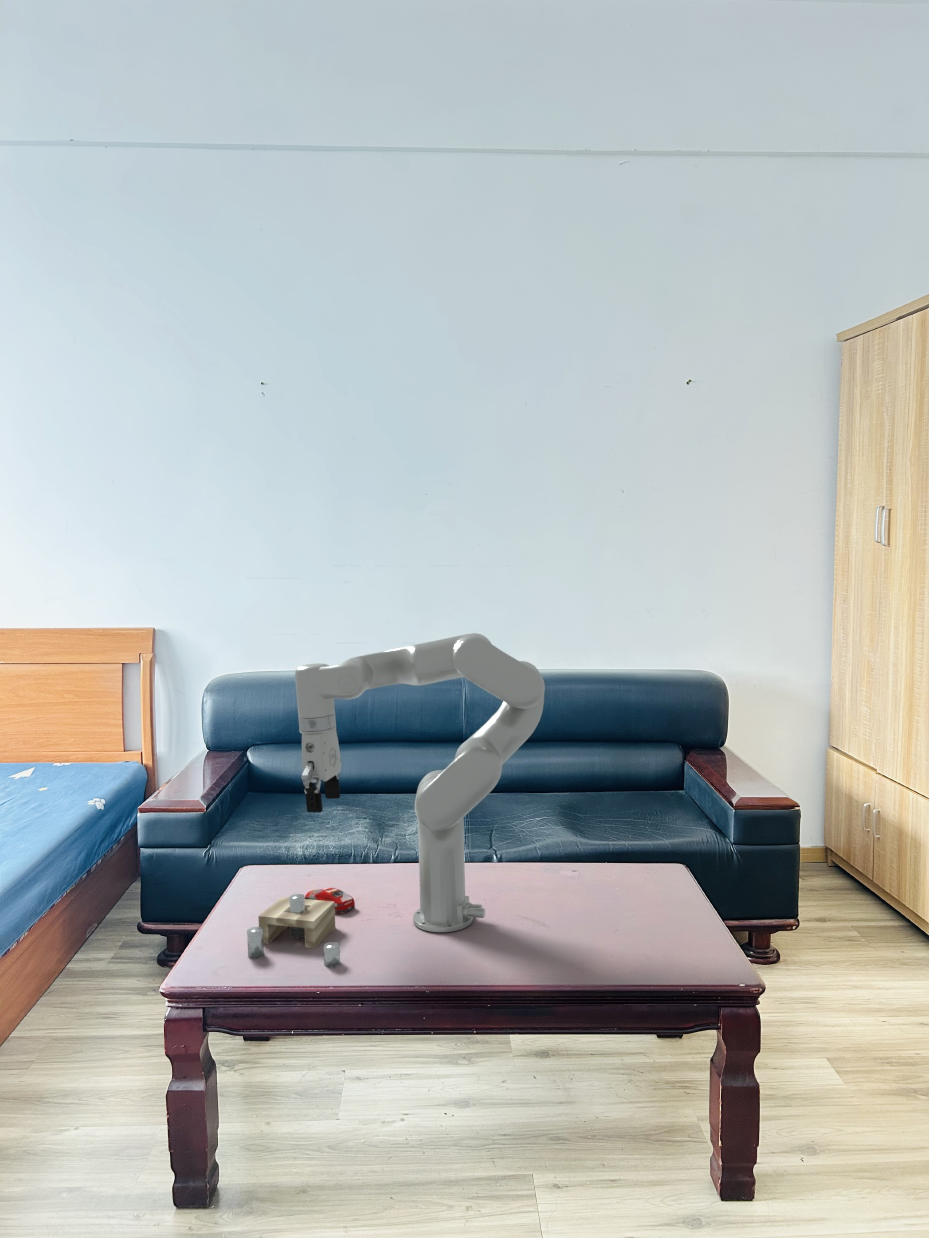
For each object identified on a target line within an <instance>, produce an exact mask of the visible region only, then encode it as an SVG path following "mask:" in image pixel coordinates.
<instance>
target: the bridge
mask: <svg viewBox="0 0 929 1238" xmlns="http://www.w3.org/2000/svg"><path fill="white" fill-rule="evenodd" d="M304 900H305V911H304V912H303V913H302V914H299V913H290V901H289V897H285V896H281V897H280V898H279V899H278V900H277V901H276V900H275V902H274V903H273V904H271V905H270V906H269V907H268V908H267V909H265V910H264V911H263V912H261V913H260V914H259V915H258V927H262V928H263V941H264V944H265V945H266V944H270V943H271V942H273V940H275V939H276V938H277V937H278V936H279V935H280V934H281V933H282V932H283V931H285V930H286V929H287V928H288V927H290V928H291V927H301V928H304V930H305V936H304V948H307V949H315V948H317V947H318V945H320V944H321V943H322V942H323V941H324V939H325V938H327V937H328V935H330V934H331V933H332V931H334V930H335V928H336V914H335V904H334V902H333V901H321V900H310V899H304Z"/></svg>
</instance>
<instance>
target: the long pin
mask: <svg viewBox="0 0 929 1238" xmlns="http://www.w3.org/2000/svg"><path fill="white" fill-rule="evenodd" d="M288 898H289V901H290V913H299V914H302V913H303V912H304V911H305V900H304V898H305V895H304V894H301V893H294V894H291V895H290V896H289V897H288ZM290 937H291V938H292V939H301V938H303V937H304V938H305V930H304V928H301V927H290Z"/></svg>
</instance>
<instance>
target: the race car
mask: <svg viewBox="0 0 929 1238" xmlns="http://www.w3.org/2000/svg"><path fill="white" fill-rule="evenodd" d="M304 899H310V900H321V901H333V902H334V904H335V915H337V914H338V915H340V914H344V913H345V914H346V913H347V912H349V911H351V910H354V909H356V902H355V899H354V898H353V896H351V895H350V894H348V893H347V892H345V891H343V890H341V889H339V888H336V887H329V888H326V889H324V888H322V889H321V888H319V889H313V890H310V891H308V892H306V894H305V895H304Z"/></svg>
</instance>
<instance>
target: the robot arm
mask: <svg viewBox="0 0 929 1238" xmlns="http://www.w3.org/2000/svg"><path fill="white" fill-rule="evenodd" d="M459 678H460V679H461V678H465V679H466V680H467V681H469V682H471V683H472V684H474V685H475V686H478V687H479V688H480V689H482V690H484V691H486V692H487V693H489V694H490V695H492V696H494V697H495V698H497V699H499V700H500V701H502V703H501V704H500V706H499V708H498V710H497V711H496V712H495V713H494V714H492V715H491V717H490V718H489V719H488V720H487V721H486V722H485V723H484V724H483V725H482V726H481V727H480V728H479V729H477V730H476V731H475V732H474V733H473V734H472V735H470V737H469V738H468V739H467V740H465V741H464V742H463V743H461V744H460V745H459V747H458V748H457V751H456V752H455V754H454V755H455V756H454V759H453V760H452V761H451V762H450V763H449V764H448V765H447V766H446V767H445V768H444V769H438V770H433V771H430V772H428V773H427V774H425V776H424V777H422V779H421V780H420V781H419V784H418V786H417V790H416V795H415V799H414V813H415V816H416V818H417V823H418V824H417V832H418V834H417V835H418V842H417V843H418V866H419V867H418V868H419V869H418V871H419V872H418V873H419V903H420V907H419V909H417V910H416V911H415V912H414V914H413V916H412V919H413V920H412V921H413V924H414V926H416V927H417V928H419V929H420V930H423V931H426V932H431V933H450V932H456V931H460V930H463V929H466V928H467V927H469V926H470V925H471V924H472V923H473V921H474V918H478V919H484V918H485V917H486V909H485V908H484V907H483V904H479V903H478V904H477V903H476V904H475V903H474V904H472V902H470V896H469V895H466V880H465V879H466V877H465V875H466V873H465V826H464V823H465V821H464V817H466V816H467V815H468V814H469V813H470V812H471V811H472V810H473V809H475V807H476V806H478V805H479V803H480V802H481V801H483V800H484V799H485V798H486V797H487V796H488V795H489V794H490V793H491V792H492V791H493V790H494V788H495V787H496V786H497V785H498V783H499V781H500V778H501V775H502V772H503V771H502V770H503V765H504V764H505V762H507V760H509V759H510V757H512V756H513V755H514V754H515V753H516V752H517V751H518V749H519V748H521V746H522V745H523V744H524V743H525V742H526V741H527V740H528V739H529V738H530V737H531V736H532V734H533V733H534V731H536V728H537V726H538V724H539V722H540V721H541V718H542V715H543V710H544V703H545V690H546V687H545V686H546V685H545V681H544V677H543V676H542V674H541V672H540V671H539V669H538V668H537V667H536V665H534V664H532V663H531V662H529V661H526V660H517V658H514V657H513V656H511V655H510V654H508V653H506V652H504V651H503V650H501V649H499V648H498V647H496V646H495V645H493V644H492V642H491V641H490V639H489V638H488V637H486V636H485V635H483V634H481V633H475V632H473V633H467V634H461V635H456V636H451V637H448V638H441V639H438V640H432V641H428V642H421V643H417V644H413V645H407V646H403V647H398V648H395V649H388V650H382V651H378V652H372V653H367V654H364V655H358V656H354V657H349V658H347V659H346V660H344V661H342V662H341V663H339V664H336V665H335V664H334V665H329V664H328V663H327V664H326V663H309V664H302V665H300V666H298V667H297V668H296V669H295V672H294V680H295V692H296V703H297V714H298V715H297V716H298V717H297V718H298V726H299V727H298V728H299V729H298V730H299V733H300V734H301V764H302V765H301V766H302V773H301V776H300V778H301V781H302V787H303V789H304V790H303V791H304V794H305V803H306V804H305V805H306V812H308V813H321V812H323V799H322V792H320V789H321V784H322V781H323V783H324V784H323V786H324V797H325V799H326V800H328V799H330V800H332V799H333V800H334V799H340V797H341V789H340V774H339V773H340V772H341V770H342V757H341V753H340V752H341V750H340V745H339V737H338V733H337V722H336V721H337V720H336V719H337V718H336V709H335V699H337V700H353V699H358V698H359V697H361V696H362V695H364V693H365V691H367V690H373V689H377V688H381V687H385V686H393V685H410V686H425V685H431V684H435V683H439V682H445V681H449V680H454V679H459ZM314 783H315V784H314Z"/></svg>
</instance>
